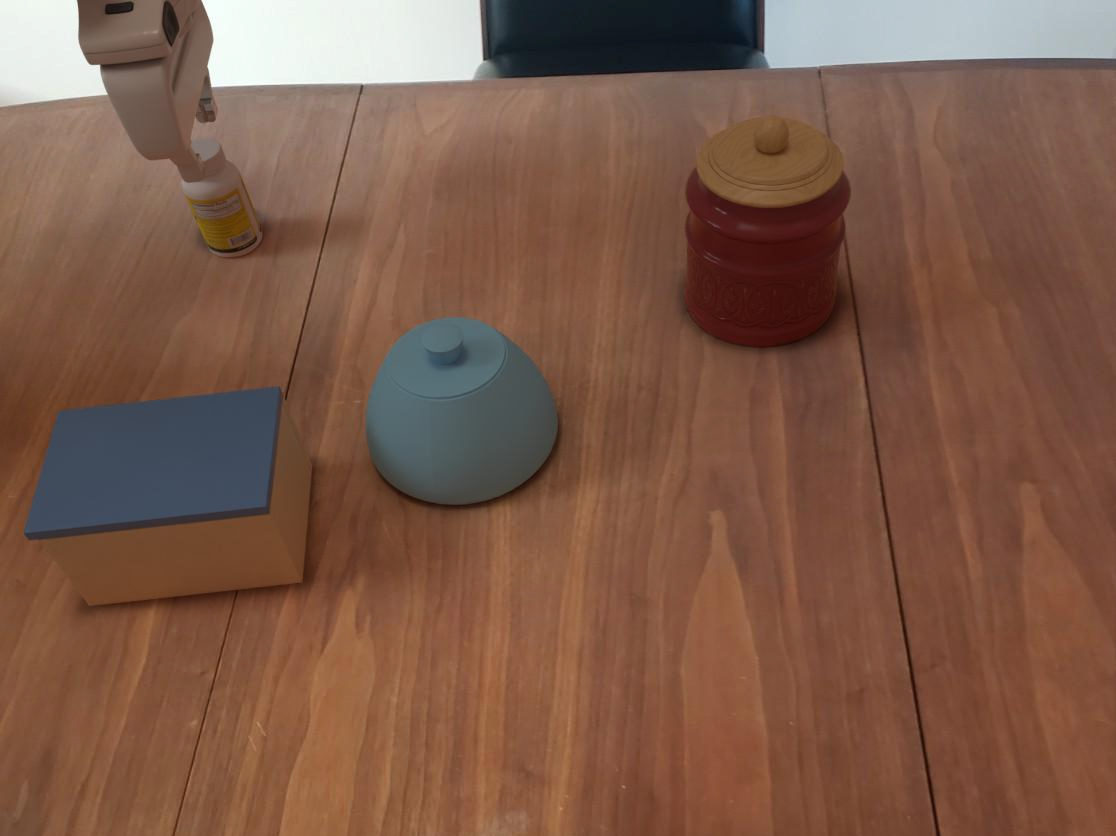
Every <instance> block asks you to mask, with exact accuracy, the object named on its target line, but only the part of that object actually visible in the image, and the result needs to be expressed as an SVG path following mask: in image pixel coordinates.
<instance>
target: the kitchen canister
mask: <svg viewBox="0 0 1116 836" xmlns="http://www.w3.org/2000/svg"><path fill="white" fill-rule="evenodd" d="M844 164H845V162H844V156H843V152H842V151H841V149H840V147H839V145H837V143H836V142H835V141H834V140H833V139H832V138H830V137H829V136H828V135H826V134H825V133H824V132H821V131H820V130H818V129H816V128H814V127H812V126H811V125H809V124H807V123H805V122H802V121H799V120H797V119H792V118H788V117H787V118H786V117H781V116H779V115H773V114H771V115H766V116H762V117H755V118H750V119H746V120H743V121H740V122H738V123H735V124H733V125H731V126H729V127H726V128H724V129H722V130H721V131H719V132H717V133H715V134H714V135H712V136H711V137H710V138H708V140H706V141H705V143H703V145H702V146H701V148H700V149H699V151H698V153H697V155H696V162H695V167H694V168H693V169H692V171H691V172H690V174H689V176H688V178H687V180H686V184H685V189H684V195H685V199H686V200H685V201H686V204H687V207H688V208H689V211H688V213H687V215H686V218H685V222H684V234H685V237H686V277H685V279H684V280H685V281H684V301H685V306H686V308H687V312H688V313H689V315H690V316H691V318H692V319H693V321H694V322H695V323H696V324H697V326H699V328H701V329H702V330H703V331H705V332H706V333H708V334H709V335H711V336H713V337H715V338H716V339H719V340H721V341H724V342H727V343H730V344H733V345H737V346H744V347H750V348H751V347H753V348H767V347H768V348H769V347H776V346H778V347H779V346H783V345H787V344H791V343H794V342H798V341H801V339H804V338H807V337H808V336H810V335H812V334H813V333H815V332H816V331H817V330H819V329H820V328H821V327H822V326H823V325H824V324H825V323H826V321H827V320H828V318H829V317H830V315H831V314H832V312H833V310H834V307H835V304H836V296H837V290H838V286H837V276H838V270H839V269H838V268H839V263H840V262H839V261H840V255H841V248H842V244H843V242H844V239H845V235H846V219H845V217H844V213H845V211H846V209H847V208H848V206H849V203H850V201H851V195H852V187H851V183H850V180H849V177H848V175H847V173H846V171H844V167H845V165H844Z"/></svg>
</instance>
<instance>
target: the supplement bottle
mask: <svg viewBox="0 0 1116 836" xmlns="http://www.w3.org/2000/svg"><path fill="white" fill-rule="evenodd" d="M191 147H192V149H193V151H194V152H195V154H197V153H199V154H200V157H201V159H202V162H203V164H204V166H205V171H204V177H203V180H202V181H200V182H193V183H187V182H185V181H184V180H183V179H182V178H181V189H182V192H183V194H184V196H185V198H186V200H187V202H188V205H189V207H190V210H191V211H192V214H193V216H194V219H195V221H196V223H197V225H198V228H199V230H200V232H201V234H202V237H203V239H204V241H205V244H206V245H207V248H208V249H209V251H210V252H211V253H212V254H214V255H215V256H218V257H221V258H238V257H241V256H244V255H247V254H248V253H249V254H250V253H251V252H252V251H254V250H255V249H256V248H257V247H259V245H260V244H261V242H262V240H263V230H262V227H261V224H260V221H259V218H258V215H257V214H256V211H255V209H254V206H253V203H252V200H251V198H250V195H249V193H248V190H247V186H246V185H245V183H244V180H243V176H242V174H241V172H240V170H239V168H238V166H237V165H236V164H235V163H234V162H232V161H230V160H228V159H227V157H226V155H225V152H224V150H223V147H222V145H221V143H220V142H219V141H218V140H217V139H214V138H210V137H202V138H197V139H193V140H192V139H191Z"/></svg>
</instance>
